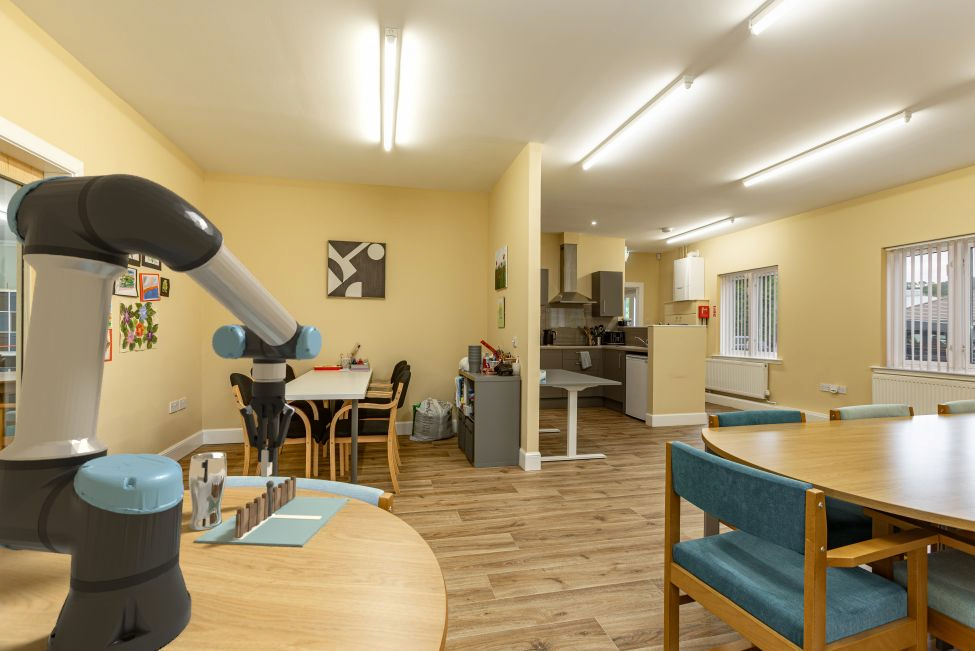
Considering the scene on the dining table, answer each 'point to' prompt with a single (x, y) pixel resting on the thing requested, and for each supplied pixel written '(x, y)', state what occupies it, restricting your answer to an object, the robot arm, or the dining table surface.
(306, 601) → the dining table surface
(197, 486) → the beer glass
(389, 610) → the dining table surface
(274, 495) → the fence panel
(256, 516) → the fence fixed
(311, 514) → the board
